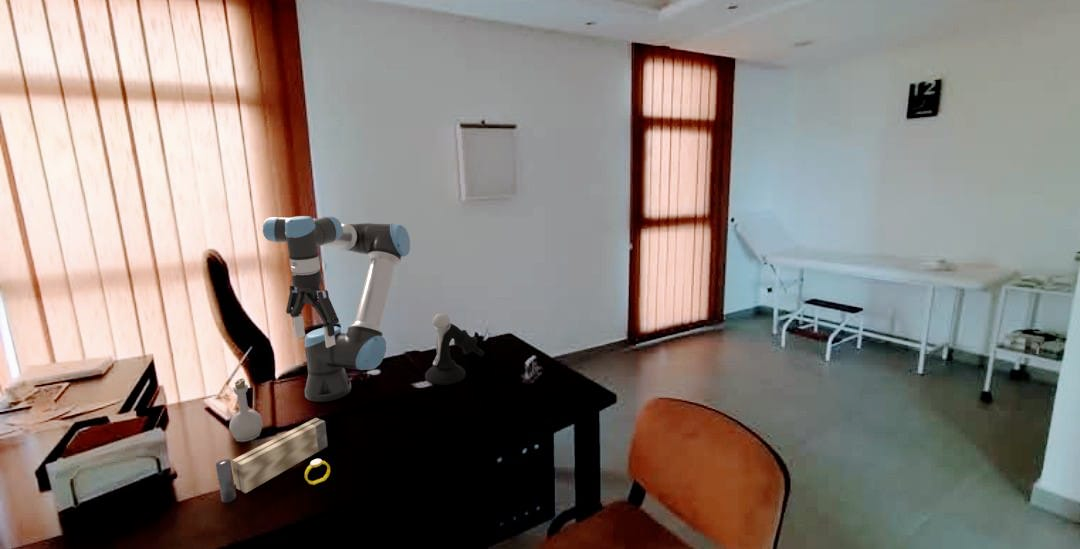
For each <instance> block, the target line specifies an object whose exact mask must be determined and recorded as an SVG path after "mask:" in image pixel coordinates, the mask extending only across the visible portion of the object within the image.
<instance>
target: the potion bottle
mask: <svg viewBox="0 0 1080 549" xmlns="http://www.w3.org/2000/svg"><path fill="white" fill-rule="evenodd" d="M234 385H235V386H234V387H233V388H232V390H233V392H234V394H235V395H236V396H237V402H238V407H239V412H236V413H235V414H234V415H233V416H232V417H231V419H230V421H229V426H228V428H229V431H230V433H231V436H232V438H233V439H235V442H241V443H246V442H249V441H253V440H255V439H256V438H258V437H260V435H261V432H262V429H263V422H264V420H263V417H262V415H261V414H260V413H259V412H257V411H256V410H254V409H249V406H248V400H247V394H246V393H247V392H248V389H249V385H248V384H246V381H245V378H244V377H242V378H239V379H237V380H235V383H234Z"/></svg>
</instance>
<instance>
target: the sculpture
mask: <svg viewBox="0 0 1080 549" xmlns="http://www.w3.org/2000/svg"><path fill="white" fill-rule="evenodd" d="M432 324H433V326H434V329H435V330H436V340H435V342H436V344H435V346H436V347H435V348H436V349H435V350H436V356H435V358H434V360H433V362H432V366H431V367H430V368H429V369H428V370H426V372H425V374H424V378H425V381H427V382H428V383H429V384H433V385H439V386H441V385H442V386H446V385H454V384H457V383H458V382H461V381H463V380H464V379H465V377H466V370H465V369H464V368H463V367H462V366H461V365H458V364H456V361H455V360H454V359H452V357H451V352H450V344H451V341H452V339H453V344H454V345H455V346H458V347H460V348H461V349H462V351H463V352H462V353H463V354H465V355H469V354H470V353H472V352H473V353H475V354H477V355H478V356H479V357H481V358H482V357H483V356H484V355H485V353H486V352H485V351H484V350H482V349H481V348H480V347H478V346H477V344H478V338H477V337H476V336H471V335H469V333H468V332H467V330H466V329H460V328H459V327H458V326H456V325H455V324H453V323H450V318H449V316H448V315H447V314H446V313H443V312H440V313H436V315H435V316H433V318H432Z"/></svg>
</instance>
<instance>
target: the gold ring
mask: <svg viewBox="0 0 1080 549" xmlns="http://www.w3.org/2000/svg"><path fill="white" fill-rule="evenodd" d="M321 465H325V466H326V469H327V470H326V473H325V474H324V475H323V477H320V478H318V479H315V480H310V479H309V478H308V474H310V473H309V472H310V471H311V470H312V469H313V468H317V467H320V466H321ZM330 473H331V466H330V464H329V463H328V462H326V461H325V460H322V459H321V458H315V459H313V460H311V461H310V463H309V465H308V466H307V467H306V469H305V471H304V479H305V481H306V482H307V483H308V484H309V485H312V486H315V485H318V484H319V483H323V482H325V481H326V480H327V479H329V476H330Z"/></svg>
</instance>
